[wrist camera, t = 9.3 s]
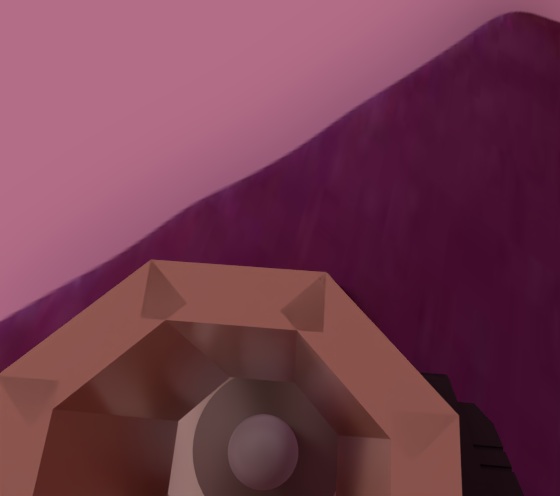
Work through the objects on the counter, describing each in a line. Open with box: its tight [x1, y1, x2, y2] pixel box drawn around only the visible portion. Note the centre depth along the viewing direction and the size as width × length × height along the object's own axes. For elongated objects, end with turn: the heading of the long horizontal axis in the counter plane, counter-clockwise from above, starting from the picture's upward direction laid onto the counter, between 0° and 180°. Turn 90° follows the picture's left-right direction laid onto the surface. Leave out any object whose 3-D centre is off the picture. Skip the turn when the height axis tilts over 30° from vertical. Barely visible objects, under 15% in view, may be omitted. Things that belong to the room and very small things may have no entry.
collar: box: [0, 260, 462, 496], centre depth 10 cm, size 6×6×8 cm
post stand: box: [168, 273, 338, 496], centre depth 23 cm, size 14×14×9 cm
